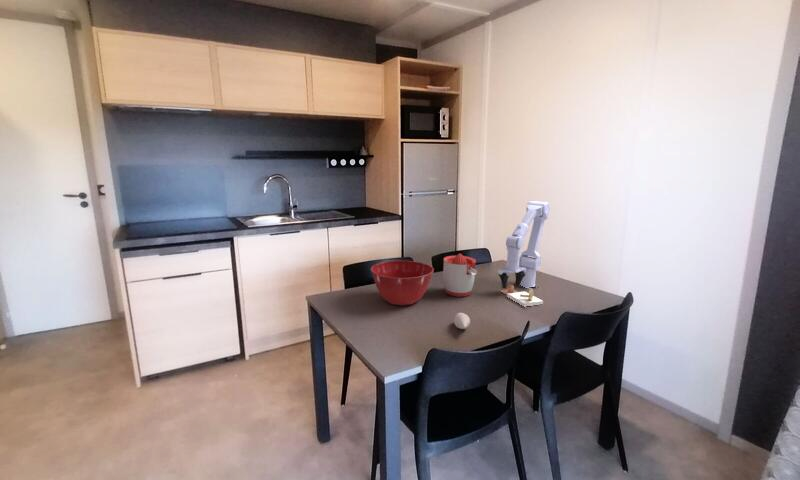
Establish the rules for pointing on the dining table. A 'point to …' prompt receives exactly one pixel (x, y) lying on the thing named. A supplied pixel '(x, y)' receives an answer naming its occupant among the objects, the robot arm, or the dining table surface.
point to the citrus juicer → (459, 275)
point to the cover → (509, 289)
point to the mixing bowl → (402, 280)
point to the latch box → (524, 299)
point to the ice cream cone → (461, 321)
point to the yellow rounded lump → (530, 296)
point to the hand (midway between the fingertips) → (510, 287)
